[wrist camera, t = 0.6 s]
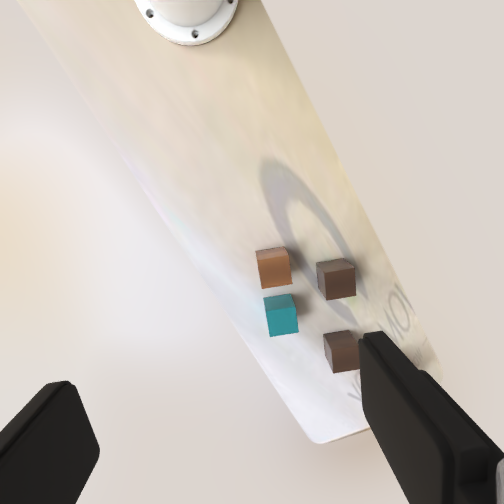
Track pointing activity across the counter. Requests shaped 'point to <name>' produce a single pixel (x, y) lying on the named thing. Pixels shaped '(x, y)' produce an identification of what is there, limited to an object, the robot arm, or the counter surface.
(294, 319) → the teal toy cube
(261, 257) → the caramel wooden cube
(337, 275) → the taupe block
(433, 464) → the robot arm
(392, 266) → the counter surface
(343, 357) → the brown cube
